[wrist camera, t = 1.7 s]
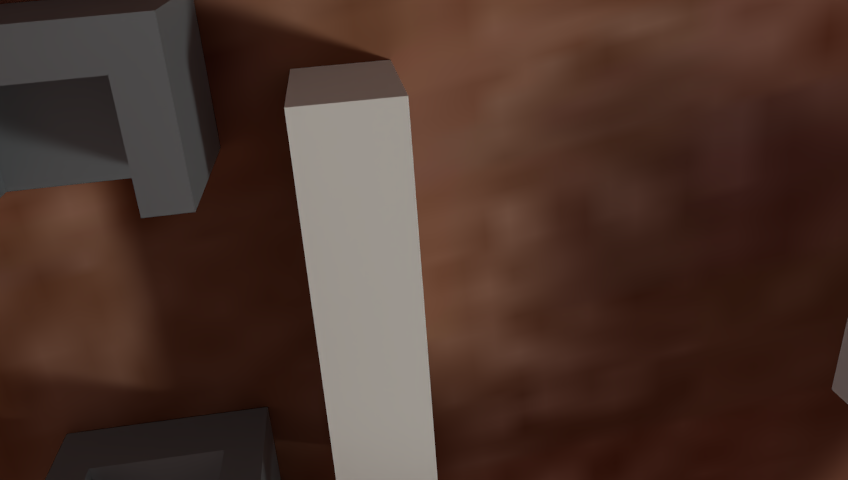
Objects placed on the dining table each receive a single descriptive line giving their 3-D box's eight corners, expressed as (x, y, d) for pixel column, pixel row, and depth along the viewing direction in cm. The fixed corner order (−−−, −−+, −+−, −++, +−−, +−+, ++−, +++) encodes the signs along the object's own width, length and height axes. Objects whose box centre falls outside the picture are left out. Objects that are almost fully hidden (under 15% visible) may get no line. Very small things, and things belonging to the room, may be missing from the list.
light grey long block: (421, 432, 34) (441, 532, 29) (340, 443, 34) (345, 546, 29) (389, 58, 28) (408, 95, 23) (290, 68, 28) (284, 107, 22)
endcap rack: (286, 512, 35) (281, 636, 29) (99, 539, 34) (53, 672, 28) (191, -14, 26) (154, 10, 20) (-63, 9, 26) (-177, 41, 20)
